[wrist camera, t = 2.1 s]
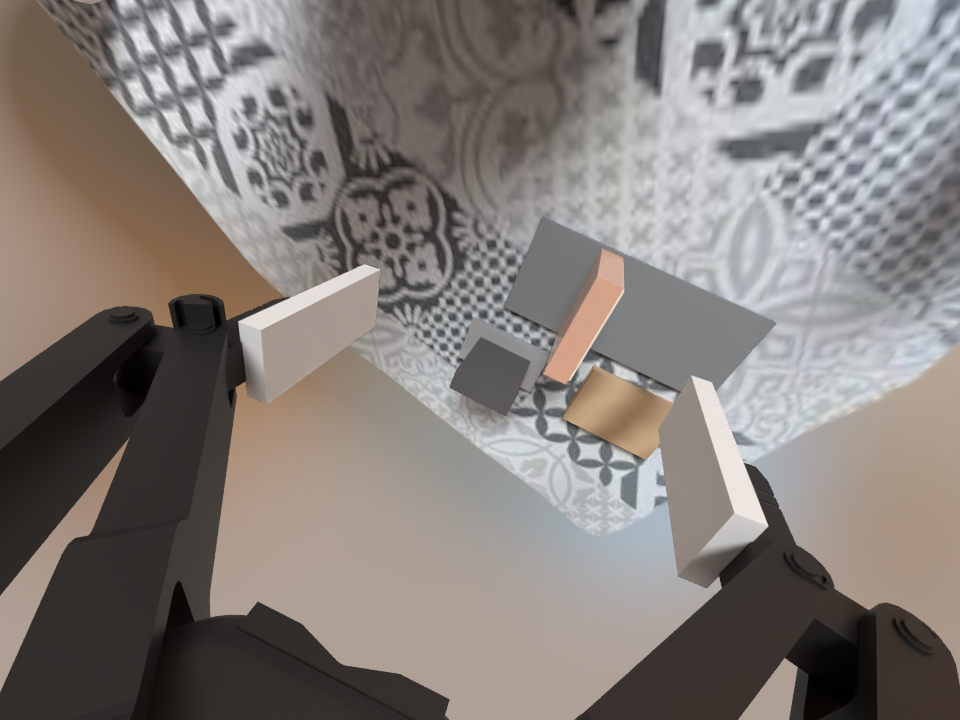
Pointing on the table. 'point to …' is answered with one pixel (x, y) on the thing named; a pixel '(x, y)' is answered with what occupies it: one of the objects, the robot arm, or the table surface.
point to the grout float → (496, 366)
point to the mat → (638, 311)
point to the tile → (586, 316)
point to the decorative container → (89, 1)
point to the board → (618, 412)
